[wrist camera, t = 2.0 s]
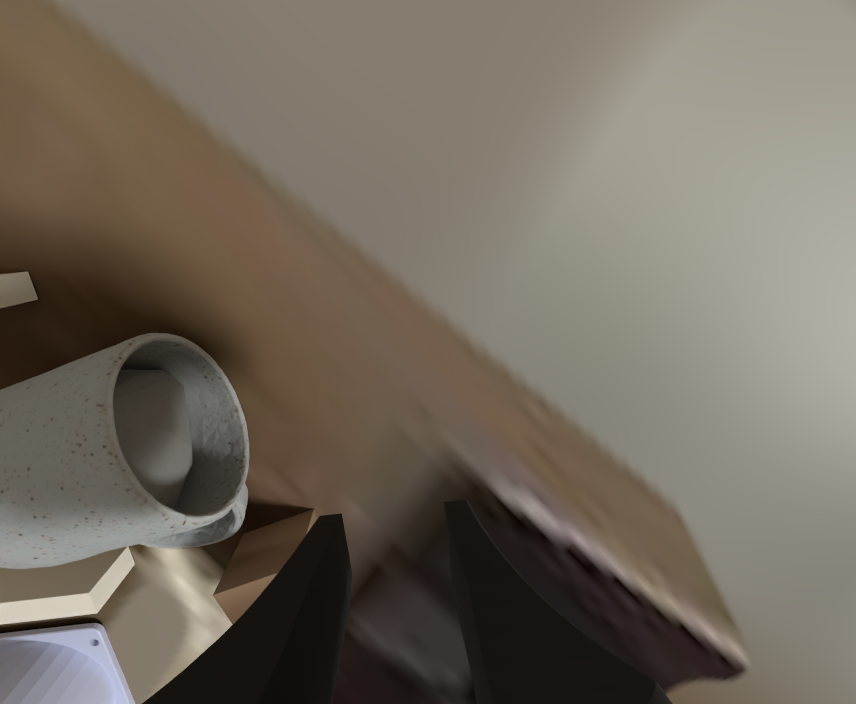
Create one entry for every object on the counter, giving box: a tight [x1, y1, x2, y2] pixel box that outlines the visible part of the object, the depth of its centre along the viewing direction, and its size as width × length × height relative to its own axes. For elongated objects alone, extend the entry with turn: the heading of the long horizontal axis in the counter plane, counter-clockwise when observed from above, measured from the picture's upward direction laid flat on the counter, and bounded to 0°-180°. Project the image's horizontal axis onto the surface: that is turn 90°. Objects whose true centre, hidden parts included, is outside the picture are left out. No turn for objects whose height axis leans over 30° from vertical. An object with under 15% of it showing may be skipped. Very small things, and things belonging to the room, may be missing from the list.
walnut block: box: [213, 509, 319, 624], centre depth 22 cm, size 4×4×4 cm
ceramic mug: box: [0, 333, 249, 569], centre depth 18 cm, size 11×8×8 cm
